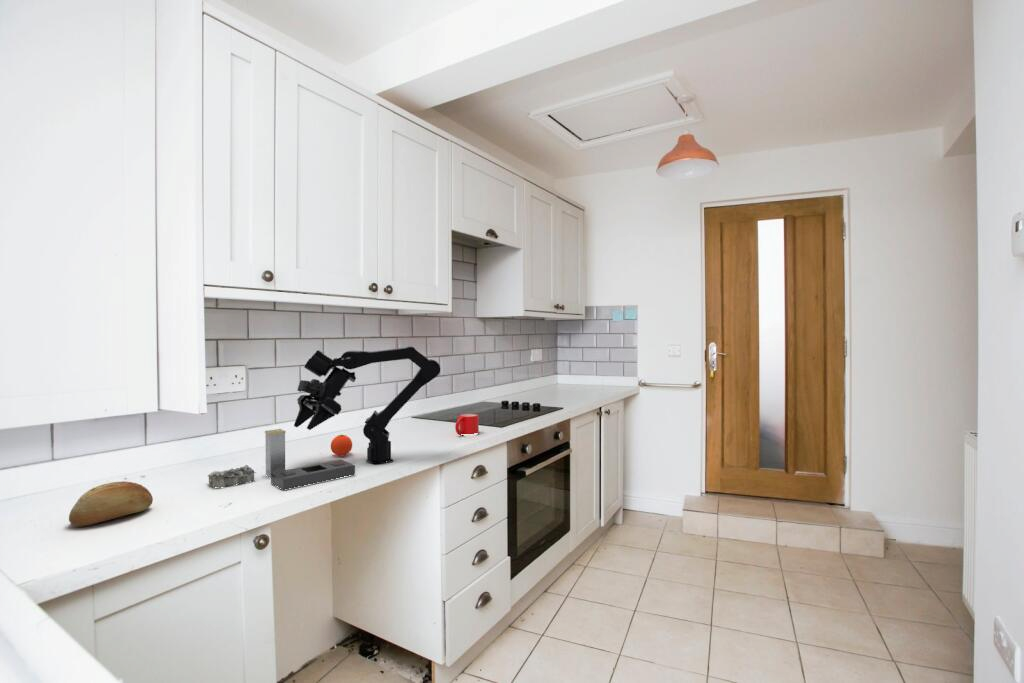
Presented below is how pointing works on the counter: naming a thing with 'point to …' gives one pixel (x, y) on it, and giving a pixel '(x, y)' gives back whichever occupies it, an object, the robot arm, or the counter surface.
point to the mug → (467, 424)
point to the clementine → (341, 445)
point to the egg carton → (231, 476)
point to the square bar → (275, 451)
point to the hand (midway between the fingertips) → (301, 427)
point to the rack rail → (311, 474)
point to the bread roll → (109, 503)
